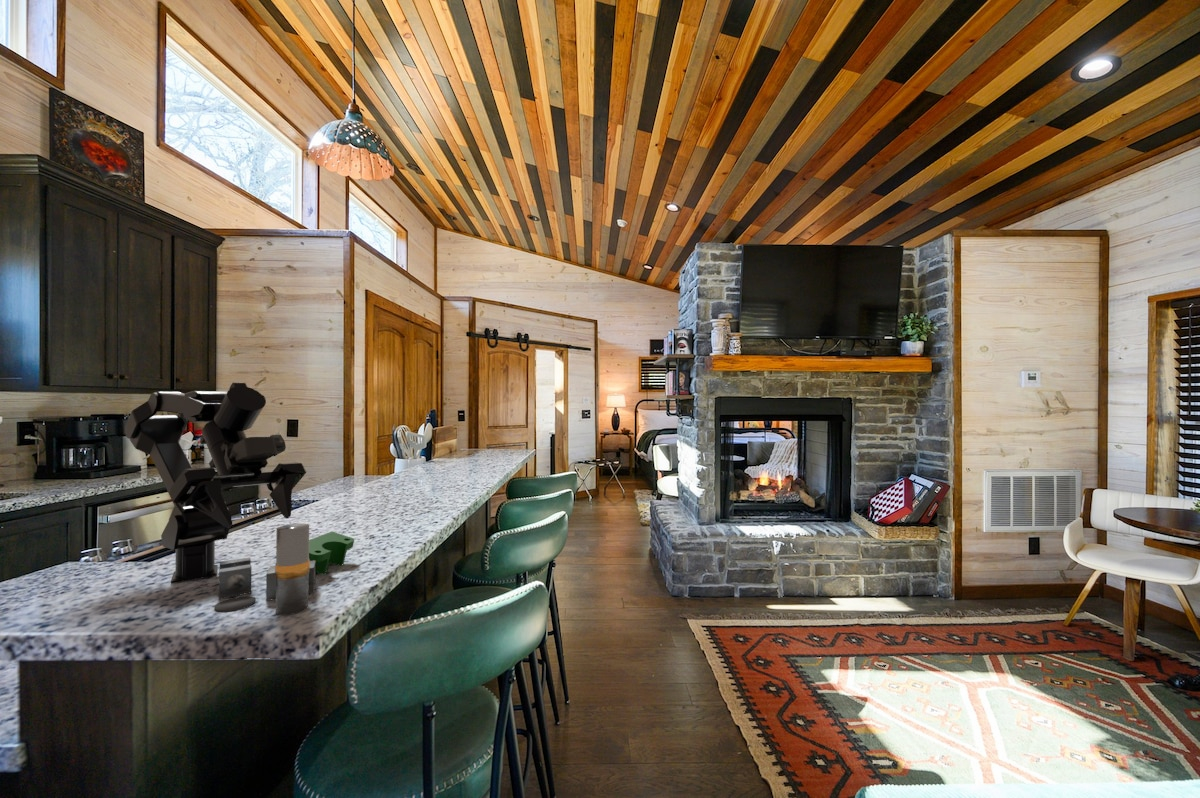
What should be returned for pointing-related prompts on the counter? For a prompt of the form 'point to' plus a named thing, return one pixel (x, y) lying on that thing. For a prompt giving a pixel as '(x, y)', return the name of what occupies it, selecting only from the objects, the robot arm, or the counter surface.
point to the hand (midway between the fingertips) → (260, 521)
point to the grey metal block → (234, 577)
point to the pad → (234, 603)
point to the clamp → (329, 550)
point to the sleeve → (292, 569)
